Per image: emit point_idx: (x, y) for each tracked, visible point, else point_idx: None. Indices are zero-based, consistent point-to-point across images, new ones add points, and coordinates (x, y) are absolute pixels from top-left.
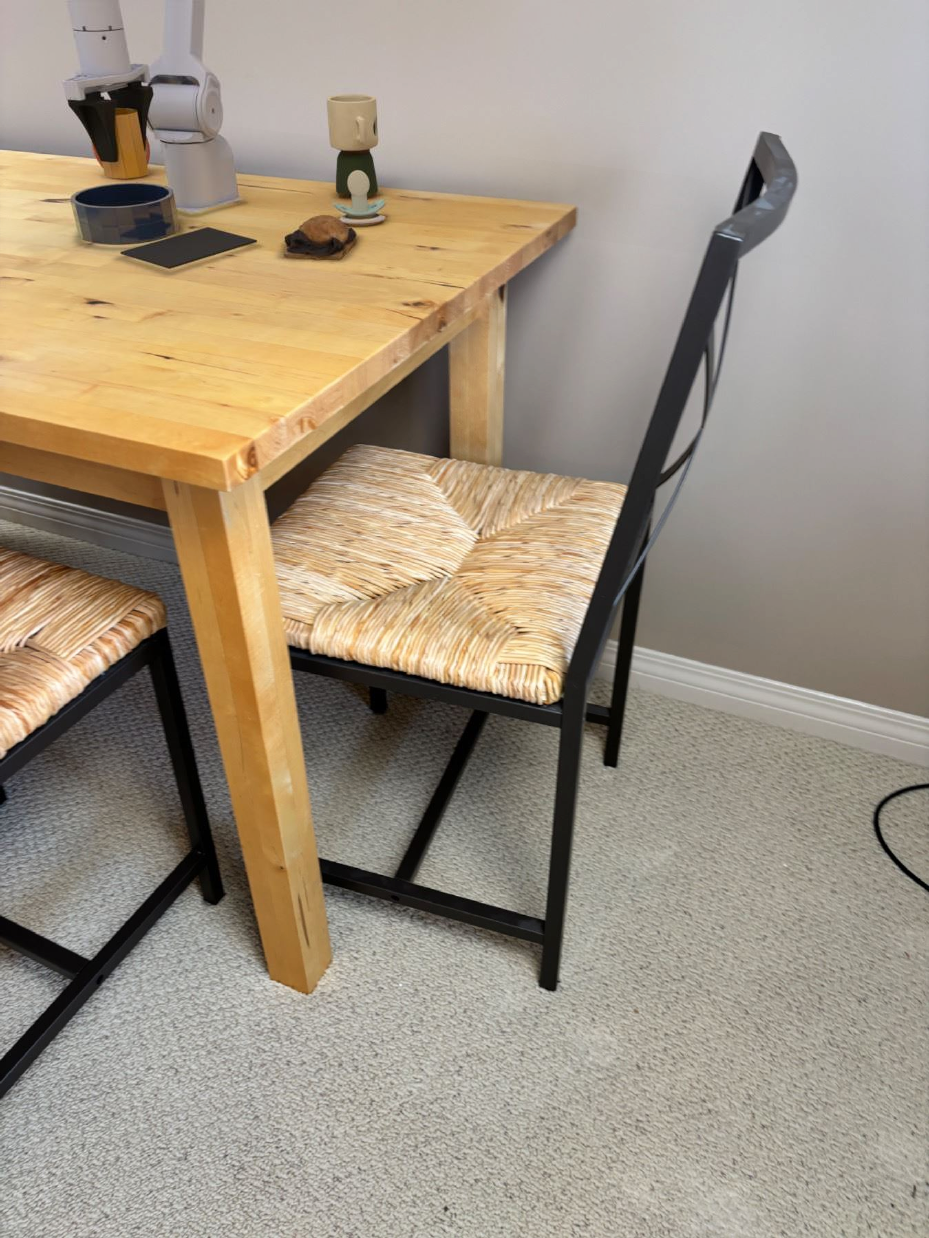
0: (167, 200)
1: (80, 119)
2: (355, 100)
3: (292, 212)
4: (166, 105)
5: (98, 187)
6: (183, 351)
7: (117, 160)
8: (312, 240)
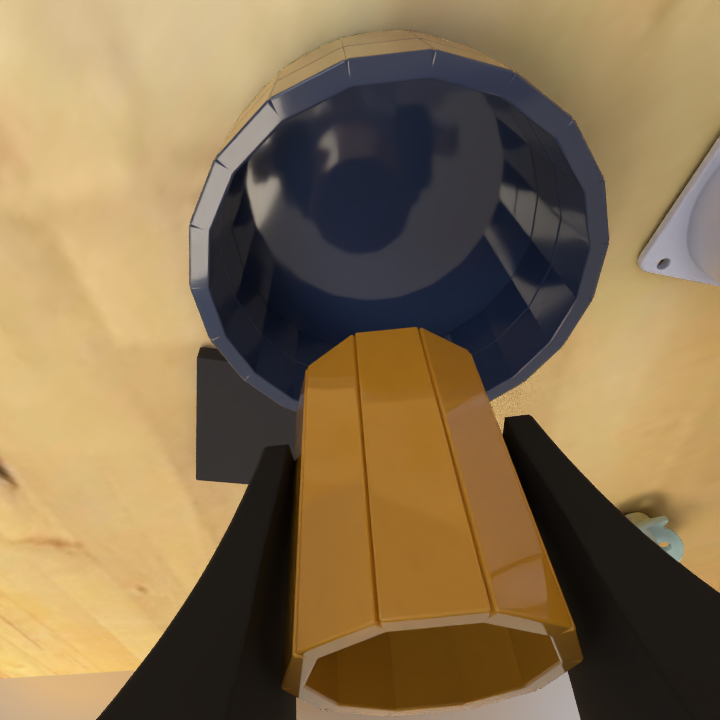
0: None
1: (153, 657)
2: None
3: (689, 426)
4: None
5: (485, 91)
6: (11, 603)
7: None
8: None
